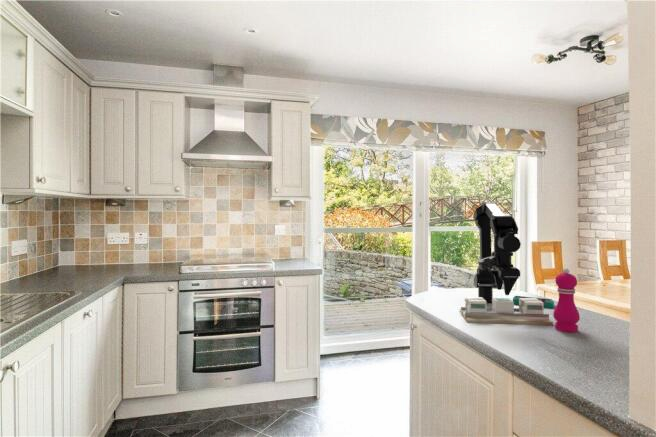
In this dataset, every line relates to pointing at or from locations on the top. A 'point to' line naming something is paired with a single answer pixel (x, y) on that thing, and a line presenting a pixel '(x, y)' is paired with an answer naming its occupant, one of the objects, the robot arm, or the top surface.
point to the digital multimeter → (547, 302)
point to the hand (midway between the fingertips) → (502, 292)
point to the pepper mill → (566, 303)
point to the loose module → (502, 305)
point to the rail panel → (525, 314)
